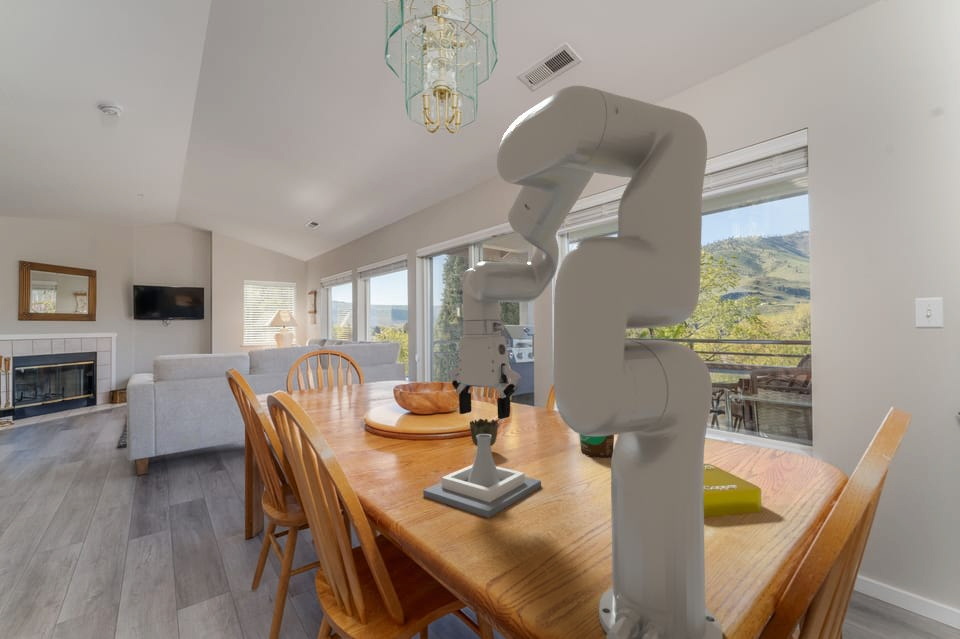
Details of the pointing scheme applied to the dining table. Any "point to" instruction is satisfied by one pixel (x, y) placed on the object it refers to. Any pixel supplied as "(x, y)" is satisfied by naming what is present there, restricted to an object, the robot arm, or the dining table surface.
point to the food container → (597, 446)
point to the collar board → (482, 491)
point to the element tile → (728, 494)
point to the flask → (484, 464)
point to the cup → (484, 429)
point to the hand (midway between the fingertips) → (484, 415)
